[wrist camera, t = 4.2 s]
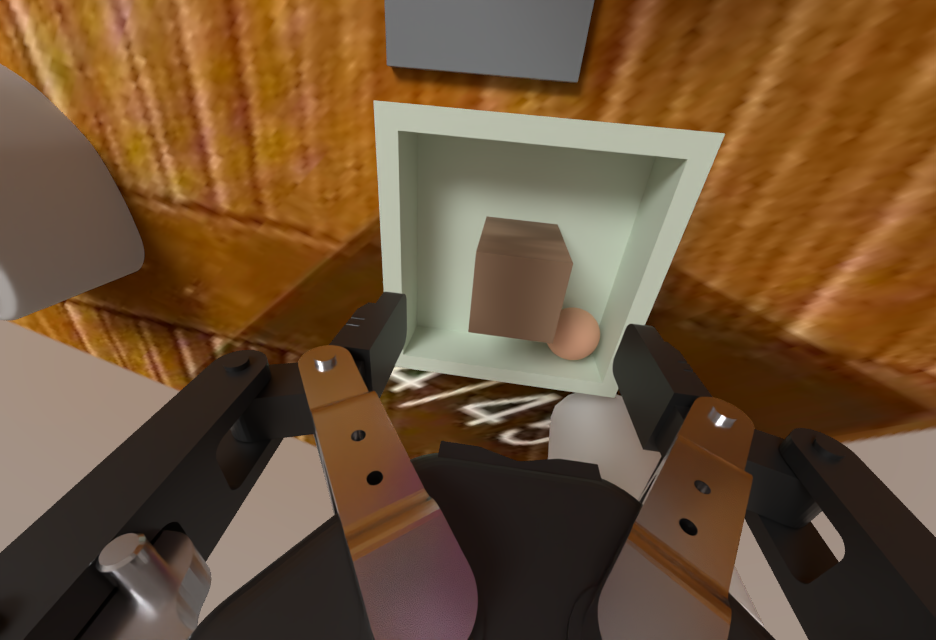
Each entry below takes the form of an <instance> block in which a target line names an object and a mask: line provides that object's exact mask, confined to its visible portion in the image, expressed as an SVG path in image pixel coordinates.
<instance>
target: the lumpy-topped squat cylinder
mask: <svg viewBox="0 0 936 640" xmlns="http://www.w3.org/2000/svg"><path fill="white" fill-rule="evenodd" d="M143 262H144V247H143V243H142V240H141V237H140V234H139V232H138V229H137V227H136V225H135V223H134V220H133V218H132V216H131V214H130V211H129V209H128V207H127V205H126V203H125V201H124V199H123V197H122V195H121V193H120V191H119V189H118V187H117V185H116V184H115V182H114V180H113V178H112V176H111V175H110V173H109V171H108V169H107V168H106V166H105V164H104V163H103V161H102V159H101V158H100V156H99V155H98V153H97V152H96V150H95V149H94V147H93V146H92V145H91V143H90V142H89V141H88V140H87V138H86V137H85V136H84V135H83V134H82V133H81V132H80V131H79V130H78V128H77V127H76V126H75V125H74V124H73V123H72V122H71V121H70V120H69V119H68V118H67V117H66V116H65V115H64V114H63V113H62V112H61V111H60V110H59V109H58V108H57V107H56V106H55V105H54V104H53V103H52V102H51V101H50V100H49V99H48V98H46V97H45V96H44V95H43V94H42V93H41V92H40V91H39V90H37V89H36V88H35V87H34V86H33V85H31V84H30V83H29V82H27V81H26V80H24V79H23V78H22V77H20V76H19V75H17V74H16V73H14V72H13V71H11V70H10V69H8V68H6V67H5V66H3V65H1V64H0V320H15V319H19V318H22V317H24V316H26V315H29V314H31V313H33V312H36V311H39V310H41V309H44V308H47V307H49V306H52V305H54V304H57V303H59V302H62V301H64V300H67V299H69V298H71V297H74V296H76V295H79V294H81V293H84V292H86V291H89V290H91V289H94V288H96V287H99V286H101V285H104V284H106V283H109V282H111V281H114V280H116V279H119V278H121V277H124V276H126V275H129V274H131V273H134V272H136V271H138V270H139V269H140V268H141V267H142V265H143Z"/></svg>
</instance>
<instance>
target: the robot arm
mask: <svg viewBox="0 0 936 640" xmlns="http://www.w3.org/2000/svg"><path fill="white" fill-rule="evenodd" d="M406 336H407V298H406V295H405V294H401V293H394V292H384V293H383V294H382V296H381V297H380V298H379V300H378V301H377V302H376V303H367V304H366V305H364V306H362V307H360V308H358V309H357V310H356V312H355V313H354V314H353V315H352V318H350V319H349V320H348V322H347V323H346V325H344V327H343V328H342V329H341V330H340V332H339V333H338V334H337V335H336V337H335V338H334V339H333V340H332V342H331V343H330V344H329V345H327V346H320V347H317V348H314V349H311V350H310V351H308V352H306V353H305V354H304V355H303V356H302V357H301V358H300V360H299V362H298V363H287V364H274V365H269V364H268V360H267V357H266V355H265V354H263V353H262V352H259V351H255V350H242V351H236V352H232V353H229V354H226V355H224V356H222V357H220V358H218V359H216V360H215V361H214V362H212V363H211V364H210V365H209V366H208V367H207V368H206V369H204V370H203V371H202V372H201V373H200V374H199V375H198V376H197V377H196V378H194V379H193V380H192V381H191V382H190V383H189V384H188V385H187V386H186V387H184V388H183V389H182V390H181V391H180V392H179V393H178V394H177V395H176V396H174V397H173V398H172V399H171V400H170V401H169V402H168V403H167V404H165V405H164V406H163V407H162V408H161V409H160V410H159V411H158V412H157V413H155V414H154V415H153V416H152V417H151V418H150V419H149V420H148V421H147V422H146V423H144V424H143V425H142V426H141V427H140V428H139V429H138V430H137V431H135V432H134V433H133V434H132V435H131V436H130V437H129V438H128V439H127V440H126V441H124V442H123V443H122V444H121V445H120V446H119V447H118V448H116V449H115V450H114V451H113V452H112V453H111V454H110V455H109V456H108V457H107V458H105V459H104V460H103V461H102V462H101V463H100V464H99V465H98V466H96V467H95V468H94V469H93V470H92V471H91V472H90V473H89V474H88V475H87V476H85V477H84V478H83V479H82V480H81V481H80V482H79V483H78V484H76V485H75V486H74V487H73V488H72V489H71V490H70V491H69V492H67V493H66V494H65V495H64V496H63V497H62V498H61V499H60V500H59V501H57V502H56V503H55V504H54V505H53V506H52V507H51V508H50V509H49V510H48V511H46V512H45V513H44V514H43V515H42V516H41V517H40V518H39V519H38V520H36V521H35V522H34V523H33V524H32V525H31V526H30V527H29V528H27V529H26V530H25V531H24V532H23V533H22V534H21V535H20V536H18V537H17V539H15V540H14V541H13V542H12V543H11V544H10V545H8V546H7V547H6V548H5V549H4V550H3V551H2V552H1V553H0V640H775V639H774V638H773V637H772V636H771V635H770V634H769V633H768V632H767V631H766V629H765V628H764V627H763V626H762V625H761V624H760V623H759V622H758V621H757V620H756V619H755V618H754V617H753V616H752V615H751V614H750V613H749V612H748V611H747V610H746V609H745V608H744V607H743V606H742V605H741V604H740V603H739V602H738V601H737V600H736V599H735V598H734V597H733V596H732V595H731V594H730V593H729V588H730V583H731V578H732V574H733V569H734V564H735V559H736V555H737V550H738V545H739V541H740V536H741V532H742V527H743V522H744V518H745V520H746V522H747V524H748V526H749V528H750V529H751V531H752V533H753V535H754V537H755V539H756V541H757V543H758V545H759V547H760V548H761V550H762V552H763V554H764V556H765V558H766V560H767V562H768V564H769V566H770V567H771V569H772V571H773V573H774V575H775V577H776V579H777V581H778V583H779V584H780V586H781V588H782V590H783V592H784V594H785V596H786V598H787V600H788V602H789V603H790V605H791V607H792V609H793V611H794V613H795V615H796V617H797V619H798V620H799V622H800V624H801V626H802V628H803V630H804V632H805V634H806V636H807V638H808V639H809V640H936V537H935V536H934V535H933V534H932V533H931V532H930V531H929V530H928V529H927V528H926V527H925V526H924V525H923V524H922V523H921V522H920V521H919V520H918V519H917V518H916V517H915V516H914V515H913V513H912V512H911V511H910V510H908V508H907V507H906V506H905V505H904V504H903V503H902V502H901V501H900V500H899V499H898V498H897V497H896V496H895V495H894V494H893V493H892V492H891V491H890V490H889V488H887V486H886V485H885V484H884V483H883V482H882V481H881V480H880V479H879V478H878V477H877V476H876V475H875V474H874V473H873V472H872V471H871V470H870V469H869V468H868V467H867V466H866V465H865V463H864V462H863V461H861V459H860V458H859V457H858V456H857V455H856V454H855V453H854V452H852V451H851V450H850V449H849V448H847V447H846V446H845V445H843V444H842V443H840V442H838V441H837V440H835V439H833V438H831V437H829V436H827V435H825V434H823V433H820V432H818V431H814V430H811V429H806V428H797V429H794V430H792V432H791V433H790V434H789V435H788V436H787V437H786V439H782V438H779V437H776V436H774V435H771V434H768V433H765V432H762V431H759V430H756V429H754V425H753V423H752V421H751V420H750V419H749V417H748V416H747V415H746V414H744V413H743V412H742V411H741V410H739V409H738V408H736V407H735V406H733V405H731V404H729V403H728V402H725V401H723V400H720V399H717V398H713V397H712V396H711V394H710V393H709V392H708V390H707V389H706V388H705V386H704V385H703V383H702V382H701V381H700V379H699V378H698V376H697V375H696V374H695V372H693V370H692V368H691V367H690V365H689V364H687V361H686V360H685V359H684V357H683V356H682V354H681V353H680V352H679V351H678V350H677V349H675V348H674V347H673V346H672V345H670V344H669V343H668V342H664V341H663V339H662V338H661V336H660V335H659V333H658V332H657V330H656V329H655V328H654V327H653V326H647V325H639V324H629V325H628V326H627V327H626V329H625V332H624V334H623V337H622V339H621V342H620V344H619V347H618V349H617V352H616V355H615V357H614V360H613V368H612V369H613V376H614V378H615V381H616V383H617V386H618V388H619V391H620V393H621V396H622V398H623V401H624V403H625V406H626V408H627V411H628V413H629V416H630V418H631V421H632V423H633V426H634V428H635V431H636V433H637V436H638V438H639V441H640V443H641V446H642V448H643V450H649V451H656V452H660V454H661V458H660V459H659V461H658V463H657V465H656V466H655V468H654V470H653V472H652V474H651V476H650V478H649V480H648V482H647V483H646V485H645V487H644V489H643V491H642V493H641V495H640V497H639V498H638V500H637V499H636V498H634V497H633V496H632V495H630V494H629V493H628V492H626V491H625V490H623V489H621V488H620V487H618V486H617V485H615V484H613V483H611V482H609V481H607V480H604V479H602V478H601V475H600V471H599V467H598V464H592V463H585V462H579V461H572V460H565V459H547V460H535V461H516V460H513V459H510V458H507V457H505V456H502V455H500V454H497V453H494V452H492V451H489V450H487V449H484V448H481V447H478V446H471V445H465V444H458V443H451V442H445V441H441V444H440V449H439V453H433V454H428V455H423V456H420V457H416V458H413V459H411V460H410V459H409V457H408V455H407V453H406V451H405V449H404V447H403V445H402V443H401V441H400V439H399V437H398V435H397V433H396V431H395V429H394V427H393V425H392V423H391V421H390V419H389V417H388V415H387V413H386V411H385V409H384V407H383V405H382V403H381V401H380V396H381V394H382V392H383V390H384V388H385V386H386V384H387V381H388V379H389V377H390V375H391V373H392V371H393V369H394V366H395V364H396V362H397V360H398V358H399V356H400V354H401V352H402V349H403V347H404V345H405V341H406ZM309 434H314V437H315V441H316V445H317V449H318V453H319V457H320V460H321V464H322V468H323V472H324V476H325V480H326V483H327V488H328V492H329V496H330V500H331V504H332V508H333V512H334V516H333V517H331V518H330V519H329V520H327V521H326V522H325V523H323V524H322V525H321V526H320V527H318V528H317V529H316V530H314V531H313V532H312V533H311V534H309V535H308V536H307V537H305V538H304V539H303V540H302V541H300V542H299V543H298V544H296V545H295V546H294V547H292V548H291V549H290V550H289V551H287V552H286V553H285V554H283V555H282V556H281V557H280V558H278V559H277V560H276V561H274V562H273V563H272V564H270V565H269V566H268V567H267V568H265V569H264V570H263V571H261V572H260V573H259V574H257V575H256V576H255V577H254V578H252V579H251V580H250V581H249V582H247V583H246V584H245V585H243V586H242V587H241V588H239V589H238V590H237V591H235V592H234V593H233V594H232V595H230V596H229V597H228V598H227V599H226V600H224V601H223V602H222V603H221V604H219V605H218V606H217V607H216V608H215V609H214V610H213V611H212V612H211V613H210V614H209V615H208V616H207V617H206V618H205V619H204V620H203V621H202V622H201V623H200V624H199V625H198V626H197V624H198V618H199V614H200V611H201V608H202V606H203V603H204V601H205V599H206V597H207V594H208V592H209V589H210V585H211V572H210V569H209V567H208V565H207V564H206V560H207V559H208V557H209V555H210V554H211V553H212V551H213V549H214V548H215V546H216V545H217V543H218V541H219V540H220V538H221V536H222V535H223V533H224V532H225V530H226V529H227V527H228V526H229V524H230V522H231V521H232V519H233V518H234V516H235V514H236V513H237V511H238V510H239V508H240V506H241V505H242V503H243V502H244V500H245V498H246V497H247V495H248V494H249V492H250V491H251V489H252V487H253V486H254V484H255V483H256V481H257V479H258V478H259V476H260V475H261V473H262V472H263V470H264V468H265V467H266V465H267V464H268V462H269V460H270V459H271V457H272V456H273V454H274V453H275V451H276V449H277V448H278V446H279V445H280V443H281V441H282V440H283V438H285V437H293V436H301V435H309ZM822 511H823V512H824V514H825V515H826V516H827V518H828V519H829V520H830V522H831V523H832V524H833V526H834V527H835V529H836V530H837V531H838V533H839V534H840V536H841V537H842V539H843V542H844V545H845V555H844V558H843V559H842V560H841V561H840V562H838V560H837V559H836V557H835V556H834V554H833V553H832V552H831V550H830V549H829V547H828V546H827V544H826V543H825V541H824V540H823V539H822V537H821V536H820V534H819V533H818V531H817V530H816V528H815V527H814V526H813V524H812V523H811V520H813V519H814V518H815V517H816V516H817V515H818V514H819V513H820V512H822Z"/></svg>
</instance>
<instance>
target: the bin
mask: <svg viewBox="0 0 936 640" xmlns="http://www.w3.org/2000/svg"><path fill="white" fill-rule="evenodd" d="M374 117H375V136H376V154H377V173H378V191H379V210H380V228H381V247H382V265H383V284H384V292H394V293H401V294H405V295H406V298H407V336H406V341H405V345H404V347H403V349H402V352H401V354H400V356H399V358H398V360H397V362H396V364H395V367H402V368H409V369H416V370H423V371H430V372H437V373H444V374H451V375H458V376H465V377H472V378H479V379H486V380H493V381H500V382H507V383H514V384H521V385H527V386H534V387H541V388H548V389H555V390H562V391H569V392H576V393H583V394H590V395H597V396H604V397H611V398H615V395H616V393H617V391H618V386H617V383H616V381H615V378H614V376H613V369H612V368H613V360H614V357H615V355H616V352H617V349H618V347H619V344H620V342H621V339H622V337H623V334H624V332H625V329H626V327H627V326H628V325H629V324H639V325H645V324H646V321H647V319H648V317H649V314H650V312H651V309H652V307H653V305H654V302H655V300H656V297H657V295H658V293H659V290H660V288H661V286H662V283H663V281H664V278H665V276H666V274H667V271H668V269H669V266H670V264H671V262H672V259H673V257H674V255H675V252H676V250H677V247H678V245H679V243H680V240H681V238H682V235H683V233H684V231H685V228H686V226H687V224H688V221H689V219H690V216H691V214H692V212H693V209H694V207H695V204H696V202H697V200H698V197H699V195H700V193H701V190H702V188H703V185H704V183H705V181H706V178H707V176H708V173H709V171H710V169H711V166H712V164H713V161H714V159H715V157H716V154H717V152H718V150H719V147H720V145H721V142H722V140H723V138H724V135H725V134H724V133H714V132H703V131H693V130H682V129H671V128H661V127H650V126H639V125H629V124H618V123H608V122H597V121H586V120H576V119H565V118H554V117H544V116H533V115H523V114H512V113H501V112H491V111H480V110H470V109H459V108H448V107H438V106H427V105H416V104H406V103H395V102H385V101H374ZM487 216H488V217H497V218H506V219H515V220H523V221H532V222H541V223H550V224H558V227H559V229H560V232H561V234H562V237H563V239H564V242H565V244H566V247H567V249H568V252H569V254H570V257H571V259H572V262H573V267H572V271H571V274H570V278H569V282H568V286H567V290H566V294H565V298H564V301H563V305H562V309H565V308H570V307H574V308H580V309H583V310H585V311H587V312H588V313H590V314H591V315H592V316H593V317H594V318H595V319H596V321H597V323H598V325H599V329H600V340H599V343H598V345H597V347H596V349H595V350H594V351H593V352H592V353H591V354H590V355H589V356H587V357H585V358H583V359H579V360H566V359H563V358H561V357H559V356H557V355H556V354H554V353H553V352H552V351H551V349H550V348H549V346H548V345H547V343H544V342H537V341H530V340H522V339H515V338H507V337H500V336H493V335H485V334H478V333H470V332H468V329H469V319H470V308H471V298H472V288H473V278H474V268H475V257H476V250H477V247H478V244H479V240H480V237H481V234H482V230H483V227H484V224H485V220H486V217H487ZM562 309H561V310H562Z"/></svg>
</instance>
